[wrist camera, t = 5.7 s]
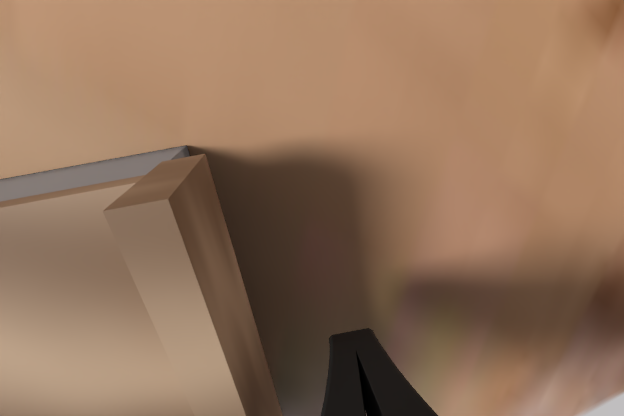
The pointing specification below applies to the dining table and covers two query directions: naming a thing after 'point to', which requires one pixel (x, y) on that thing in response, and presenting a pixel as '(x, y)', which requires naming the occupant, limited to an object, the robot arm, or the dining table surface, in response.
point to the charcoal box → (86, 174)
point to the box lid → (127, 303)
